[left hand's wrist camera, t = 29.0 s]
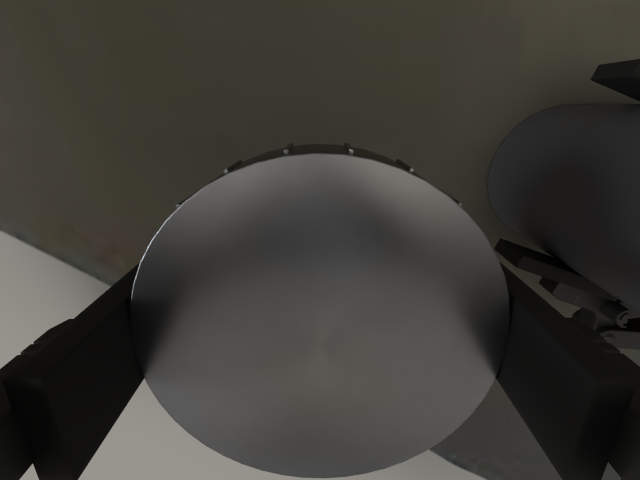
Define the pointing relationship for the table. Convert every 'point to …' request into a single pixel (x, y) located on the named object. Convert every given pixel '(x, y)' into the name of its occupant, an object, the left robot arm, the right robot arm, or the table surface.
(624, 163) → the screw-top jar
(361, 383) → the lid
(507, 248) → the right robot arm
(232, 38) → the table surface
